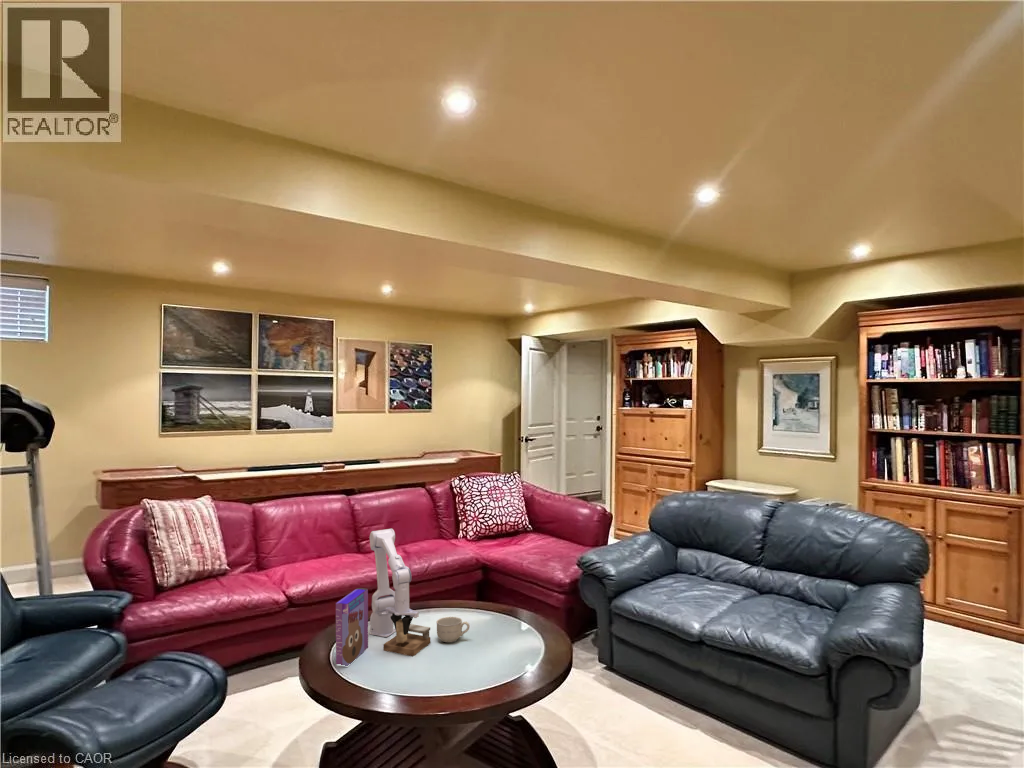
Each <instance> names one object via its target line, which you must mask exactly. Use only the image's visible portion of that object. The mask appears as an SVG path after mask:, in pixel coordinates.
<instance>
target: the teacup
mask: <svg viewBox="0 0 1024 768" xmlns="http://www.w3.org/2000/svg"><path fill="white" fill-rule="evenodd" d="M464 625H465V626H466V629H465V630H463V627H464ZM469 630H470V623H469V621H463V619H462V618H460V617H457V616H447V617H446V616H445V617H442V618H439V619H437V620H436V634H437V637H438V638H439V640H440V641H442V642H445V643H453V642H457V641H458V640H459V638H461V637H462V636H464V634H466V633H467V632H468V631H469Z"/></svg>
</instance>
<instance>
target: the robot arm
mask: <svg viewBox="0 0 1024 768" xmlns="http://www.w3.org/2000/svg"><path fill="white" fill-rule="evenodd" d="M395 541H396V532H395V530H394V529H393V528H386V529H378V530H372V531H371V532H370V534H369V547H370V550H371V551H374V560H375V571H376V581H377V582H376V583H377V589H376V590H375V592H374V593H373V594H372V596H371V609H372V612H371V614H370V617H369V631H368V635H373V636H378V637H383V638H388V637H390V636H391V635H393V634H394V633H396V622H397V621H398V620H400V619H402V622H403V632H404V635H406V634H407V633H409V632H410V631H409V627H410V624H412V621H413V619H418V618H419V615H420V614H419V611H416V610H413V609H411V608H410V583H411V581H412V572H411V569H410V567H408V566H407V565H405V562H404V560H403V557H402V556H401V555H400V554H398V553H397V549H396V545H395V543H396V542H395ZM387 557H388V560H387ZM388 566H389V569H390V571H391V573H392V576H391V579H392V583H393V585H392V586H393V588H394V590H393V589H391V588H390V582H389V571H388V570H389V569H388ZM403 616H404V617H403Z"/></svg>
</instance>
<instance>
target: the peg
mask: <svg viewBox="0 0 1024 768" xmlns="http://www.w3.org/2000/svg"><path fill="white" fill-rule="evenodd" d="M395 633H396V635H395V636H396V638H397V642H400V643H403V642H405V641H406V640H407V634H406V635H404V632H403V622H402V619H400V620H398V621H397V622H396V632H395Z"/></svg>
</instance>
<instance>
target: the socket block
mask: <svg viewBox="0 0 1024 768" xmlns="http://www.w3.org/2000/svg"><path fill="white" fill-rule="evenodd" d="M430 631H431V627H430V626H425V625H418V624H413V623H411V624H410V627H409V631H408V633H407V640H406V641H405V642H403V643H400V642H397V638H396V635H395V636H393V638H391V639H389V640H388V641H386V642H385V643H383V644H382V645H383V651H385V652H389V653H395V654H399V655H404V656H408V657H414V656H416V655H417V654H418V653H420V652H421V651H422V650H424V649H425V648H426V647H428V646H429V645H430V644H431V636H430ZM409 632H412V633H409ZM420 634H422V635H420Z"/></svg>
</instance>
